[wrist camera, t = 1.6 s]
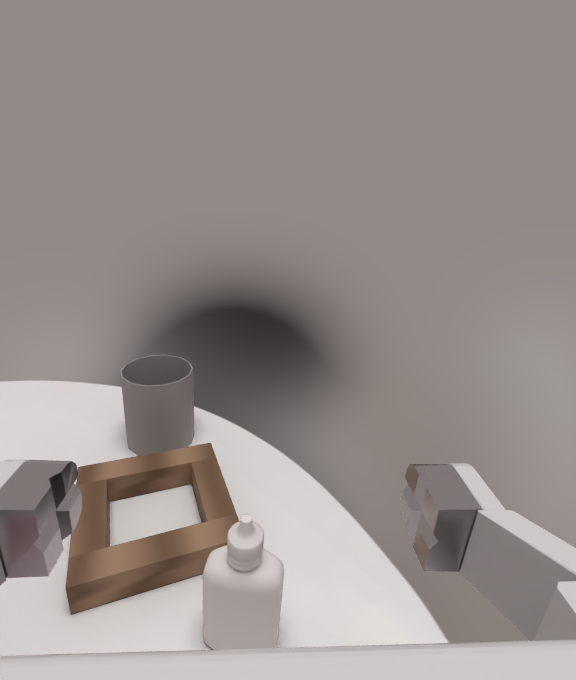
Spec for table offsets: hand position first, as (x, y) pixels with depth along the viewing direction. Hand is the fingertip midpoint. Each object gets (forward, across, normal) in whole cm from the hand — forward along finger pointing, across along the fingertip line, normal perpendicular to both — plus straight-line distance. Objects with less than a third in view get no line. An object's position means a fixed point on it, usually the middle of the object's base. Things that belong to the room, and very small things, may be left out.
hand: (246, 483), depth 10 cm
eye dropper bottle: (+12, 0, +26) cm, 28 cm away
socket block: (+23, +9, +25) cm, 35 cm away
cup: (+37, +12, +25) cm, 46 cm away
